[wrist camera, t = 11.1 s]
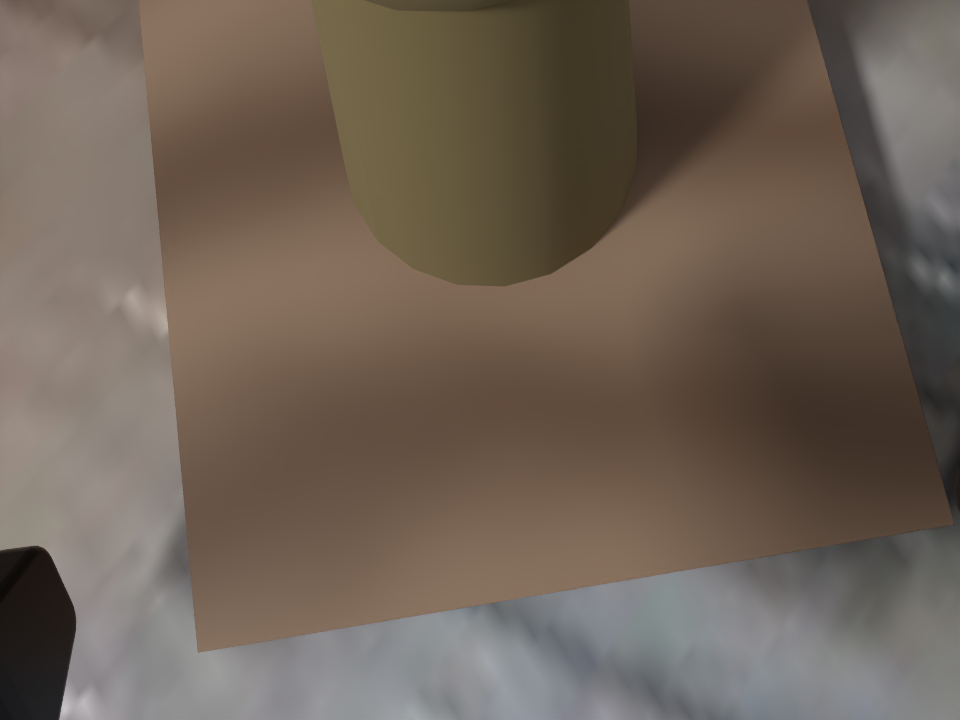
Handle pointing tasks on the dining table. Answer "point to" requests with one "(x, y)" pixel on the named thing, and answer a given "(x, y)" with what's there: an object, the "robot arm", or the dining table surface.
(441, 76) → the cork
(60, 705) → the robot arm
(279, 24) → the walnut board
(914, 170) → the dining table surface
